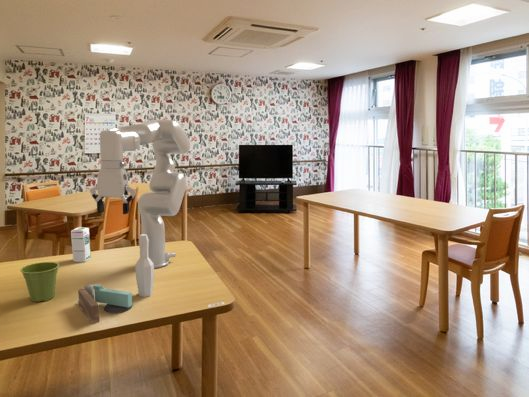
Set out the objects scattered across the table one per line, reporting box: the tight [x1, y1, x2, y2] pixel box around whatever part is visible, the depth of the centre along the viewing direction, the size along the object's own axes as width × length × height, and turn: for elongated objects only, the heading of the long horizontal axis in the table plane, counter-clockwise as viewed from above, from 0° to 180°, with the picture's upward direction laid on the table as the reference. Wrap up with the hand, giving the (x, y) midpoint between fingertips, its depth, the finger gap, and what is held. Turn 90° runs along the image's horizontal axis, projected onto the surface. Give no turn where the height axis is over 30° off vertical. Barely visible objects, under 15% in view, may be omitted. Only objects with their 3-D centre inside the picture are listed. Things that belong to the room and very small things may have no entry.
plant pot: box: [20, 261, 60, 303], centre depth 141 cm, size 12×12×11 cm
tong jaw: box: [93, 284, 133, 307], centre depth 135 cm, size 2×14×6 cm, turn 73°
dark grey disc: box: [103, 304, 133, 314], centre depth 136 cm, size 9×9×1 cm
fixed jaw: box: [77, 284, 100, 324], centre depth 132 cm, size 5×18×6 cm, turn 38°
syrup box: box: [70, 226, 92, 263], centre depth 183 cm, size 6×6×14 cm
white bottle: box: [134, 233, 155, 298], centre depth 145 cm, size 6×6×22 cm
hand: (113, 213), depth 147 cm, fingers open, 9 cm apart
